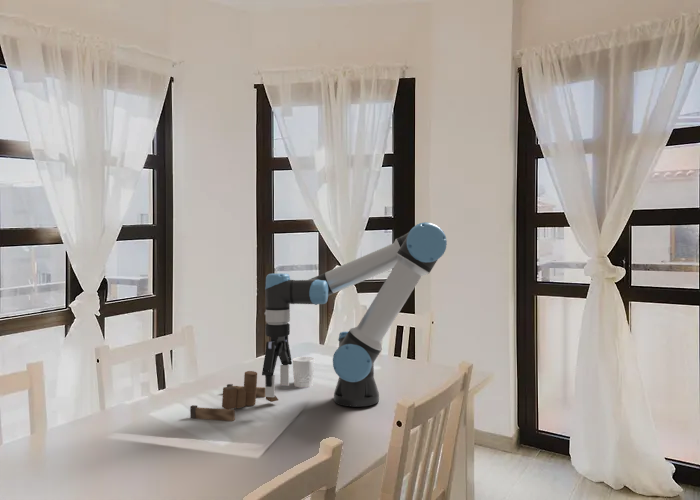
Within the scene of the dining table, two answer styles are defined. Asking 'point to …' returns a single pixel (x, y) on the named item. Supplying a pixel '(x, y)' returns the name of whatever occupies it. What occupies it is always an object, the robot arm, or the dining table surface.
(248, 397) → the wooden block set
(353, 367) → the robot arm
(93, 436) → the dining table surface
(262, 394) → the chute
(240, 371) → the dining table surface
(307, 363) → the white cup
